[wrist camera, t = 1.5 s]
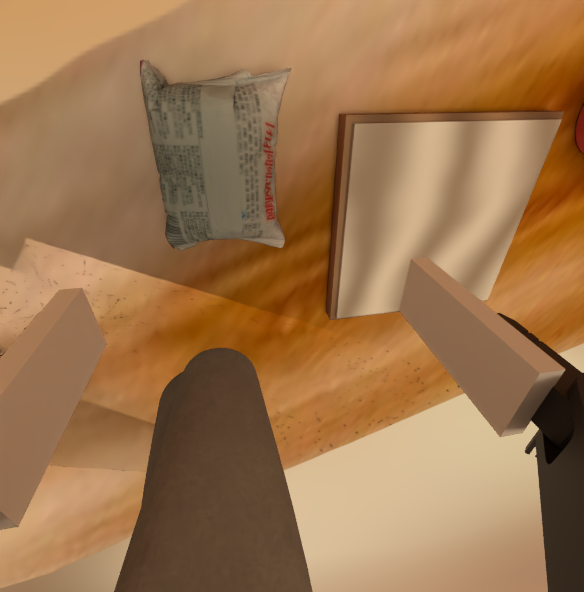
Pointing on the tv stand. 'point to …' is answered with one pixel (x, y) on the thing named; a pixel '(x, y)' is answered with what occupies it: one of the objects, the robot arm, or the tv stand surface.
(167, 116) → the packaged food
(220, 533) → the vase
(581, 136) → the flower pot
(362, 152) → the stand
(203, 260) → the tv stand surface
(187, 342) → the tv stand surface
